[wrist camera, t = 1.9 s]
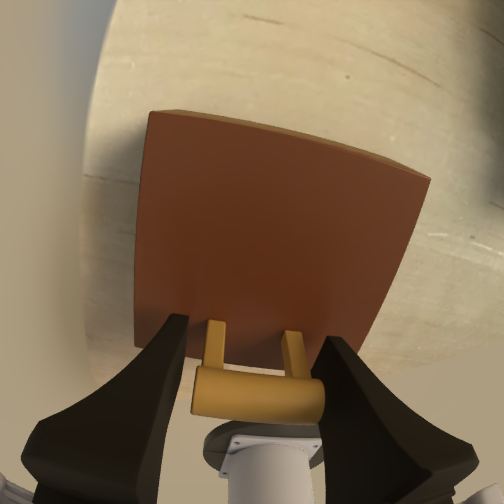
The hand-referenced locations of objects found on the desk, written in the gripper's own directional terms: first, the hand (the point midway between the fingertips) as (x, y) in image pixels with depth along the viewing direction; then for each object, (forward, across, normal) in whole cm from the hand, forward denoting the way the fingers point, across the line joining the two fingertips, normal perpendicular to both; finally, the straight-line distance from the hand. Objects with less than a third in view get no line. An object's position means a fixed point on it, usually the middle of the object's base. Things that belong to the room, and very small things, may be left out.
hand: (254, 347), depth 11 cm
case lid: (+1, 0, -3) cm, 3 cm away
